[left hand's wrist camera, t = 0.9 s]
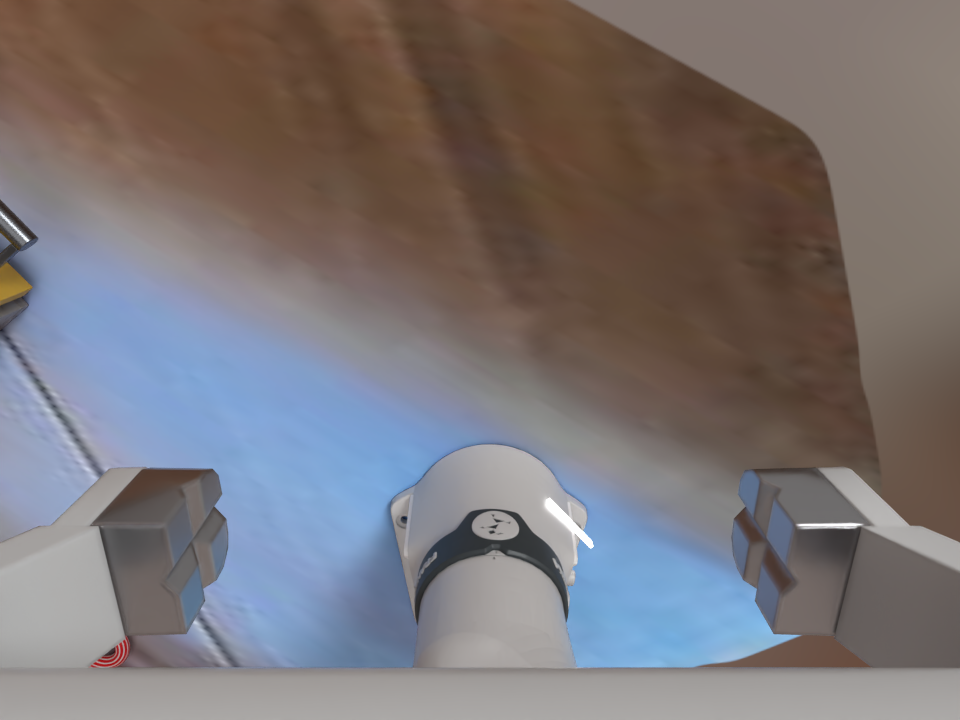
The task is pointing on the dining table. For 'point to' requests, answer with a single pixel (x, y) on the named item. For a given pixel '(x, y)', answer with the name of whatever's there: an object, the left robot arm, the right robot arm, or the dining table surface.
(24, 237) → the drawer
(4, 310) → the grey zigzag patterned box
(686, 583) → the dining table surface
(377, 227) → the dining table surface
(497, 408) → the dining table surface
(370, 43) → the dining table surface
